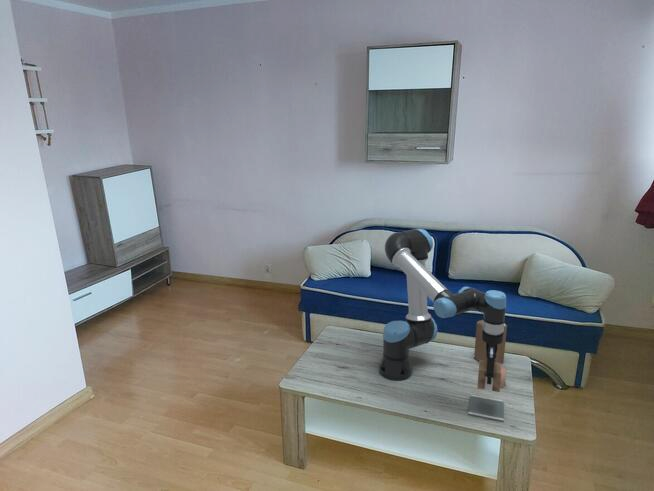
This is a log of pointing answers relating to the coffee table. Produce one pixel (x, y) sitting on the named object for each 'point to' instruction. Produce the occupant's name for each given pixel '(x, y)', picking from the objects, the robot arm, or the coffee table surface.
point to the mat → (486, 408)
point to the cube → (482, 378)
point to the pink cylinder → (503, 377)
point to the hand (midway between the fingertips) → (488, 383)
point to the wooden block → (481, 345)
